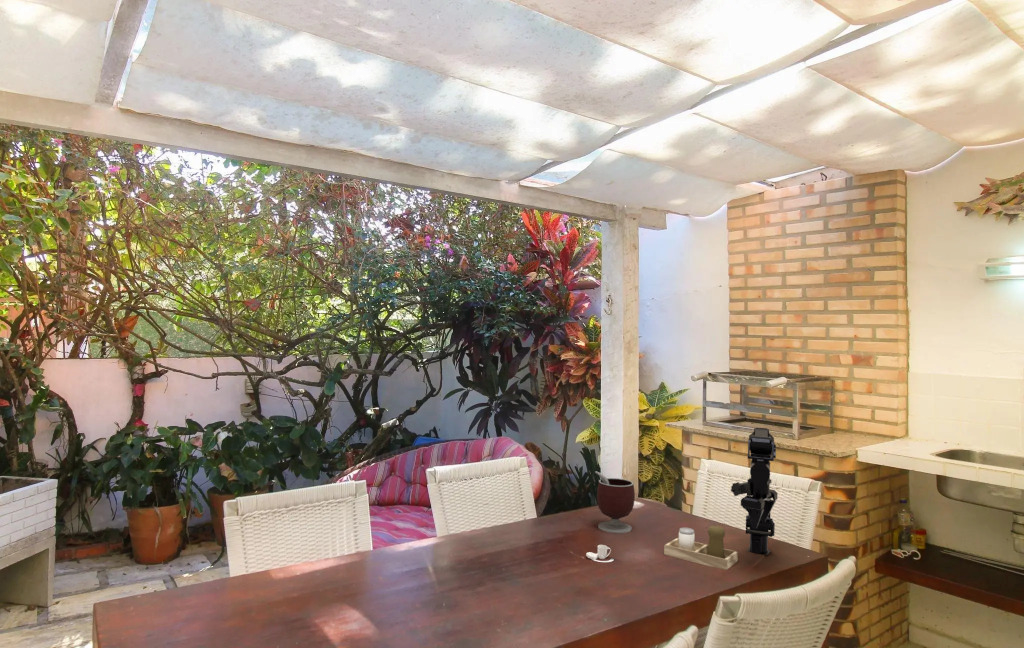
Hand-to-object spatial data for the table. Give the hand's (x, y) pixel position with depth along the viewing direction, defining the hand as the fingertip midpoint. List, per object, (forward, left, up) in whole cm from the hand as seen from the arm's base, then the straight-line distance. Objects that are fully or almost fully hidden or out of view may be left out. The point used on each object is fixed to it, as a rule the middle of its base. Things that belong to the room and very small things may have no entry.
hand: (758, 525), depth 203 cm
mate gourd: (-4, -54, -13) cm, 56 cm away
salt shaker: (+7, -21, -12) cm, 25 cm away
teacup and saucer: (+27, -44, -14) cm, 53 cm away
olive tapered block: (+7, -11, -12) cm, 18 cm away
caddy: (+7, -16, -13) cm, 22 cm away
